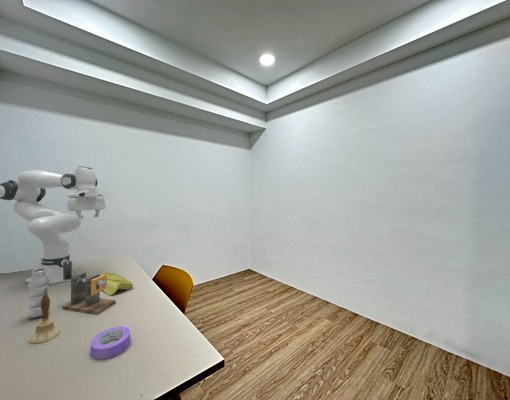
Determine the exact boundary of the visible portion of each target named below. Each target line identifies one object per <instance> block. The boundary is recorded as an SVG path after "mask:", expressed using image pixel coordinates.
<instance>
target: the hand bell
mask: <svg viewBox="0 0 510 400" xmlns="http://www.w3.org/2000/svg"><path fill="white" fill-rule="evenodd" d="M40 306H41V310H42V316H41V321H39V322H38V323H37V324H36V329H35V332H34V334H33V335H31V337H30V338H29V339H28V343H29V344H32V345H33V344H34V345H35V344H36V345H37V344H42V343H45V342H48V341H50V340H53V339H54V338H56V337H57V336H58V335H59V334H60V332H61V330H60V329H59V328H58V327H56V326H55V324H54V323H55V322H54V319H51V318H49V312H48V309H49V306H50V307H51V299H50V297H49V293H48V294H44V295H43V297H42V299H41V303H40Z"/></svg>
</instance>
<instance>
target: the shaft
mask: <svg viewBox="0 0 510 400" xmlns="http://www.w3.org/2000/svg"><path fill="white" fill-rule="evenodd" d="M72 272H73V261H72V260H69V261H67V262H64V263H63V280H66V281H67V282H71V277H72V276H73V275H72ZM86 278H87V277H86ZM86 278H80V277H79V278H77V283H78V282H80V283H85V279H86ZM66 281H65V282H66ZM105 284H106V281H102V280H100V281H98V282H96V285H100V286H101V285H105Z"/></svg>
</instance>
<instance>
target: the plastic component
mask: <svg viewBox="0 0 510 400" xmlns="http://www.w3.org/2000/svg"><path fill="white" fill-rule="evenodd" d="M104 274H105V275H107V286H106V289H105V290H103V291H102V292H104V293H106V294H107V295H108V296H113V295H114V294H116V293H117V291H118V290H131V289H132V287H133V285H134V283H133V281H132V282H131V281H130V280H129V279H127V278H125V277H123V276H122V275H120V274H117V273H114V272H113V273H112V272H107V271H104V272H102V274H101V276H102V275H104ZM100 287H102V285H100Z"/></svg>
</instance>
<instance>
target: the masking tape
mask: <svg viewBox="0 0 510 400" xmlns="http://www.w3.org/2000/svg"><path fill="white" fill-rule="evenodd" d="M114 340H116V341H114ZM110 341H113V342H111V343H107V342H110ZM105 343H106V344H105ZM130 344H131V329H130V328H129V327H126V326H114V327H110V328H107V329H105V330H103V331H101V332H99V333H98V334H96V335H95V336H94V337H93V338H92V340H91V341H90V356H91V357H92V358H93V359H97V360H105V359H109V358H112V357H115V356H117V355H119V354H121V353H123V352H124V351H125V350H126V349H127V348H128V347H129V346H130Z"/></svg>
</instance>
